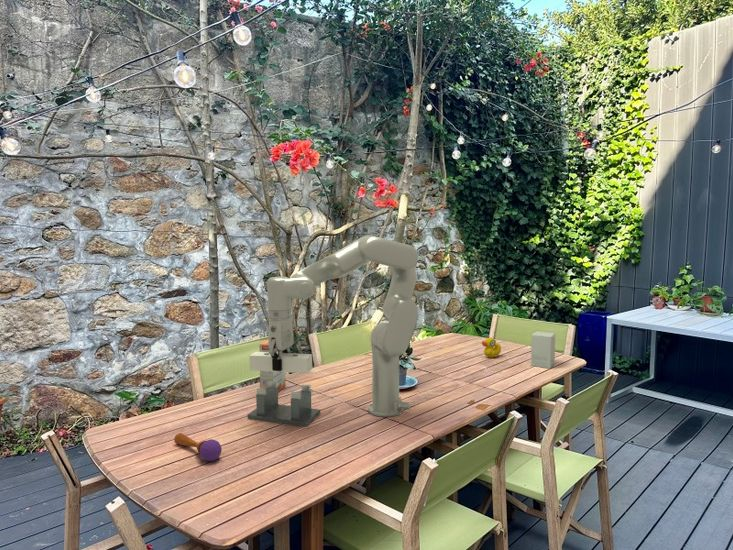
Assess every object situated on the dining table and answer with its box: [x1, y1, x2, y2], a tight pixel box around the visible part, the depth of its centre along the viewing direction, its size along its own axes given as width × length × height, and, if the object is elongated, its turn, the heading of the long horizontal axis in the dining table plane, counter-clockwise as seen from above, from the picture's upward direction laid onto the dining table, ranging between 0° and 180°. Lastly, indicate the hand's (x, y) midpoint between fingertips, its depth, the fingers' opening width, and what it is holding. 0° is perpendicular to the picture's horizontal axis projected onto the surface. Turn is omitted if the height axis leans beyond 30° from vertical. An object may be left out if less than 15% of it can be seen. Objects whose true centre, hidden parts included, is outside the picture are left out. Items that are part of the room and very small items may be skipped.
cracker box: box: [259, 338, 287, 393], centre depth 206 cm, size 14×6×21 cm, turn 168°
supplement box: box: [530, 330, 556, 369], centre depth 243 cm, size 9×9×15 cm
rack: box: [246, 381, 321, 428], centre depth 181 cm, size 22×12×10 cm, turn 72°
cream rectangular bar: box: [249, 351, 313, 374], centre depth 173 cm, size 20×5×5 cm, turn 78°
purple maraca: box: [173, 432, 223, 462], centre depth 153 cm, size 6×6×20 cm
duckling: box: [481, 337, 502, 359], centre depth 256 cm, size 11×5×10 cm, turn 118°
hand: (281, 367), depth 173 cm, fingers closed on cream rectangular bar, 5 cm apart
